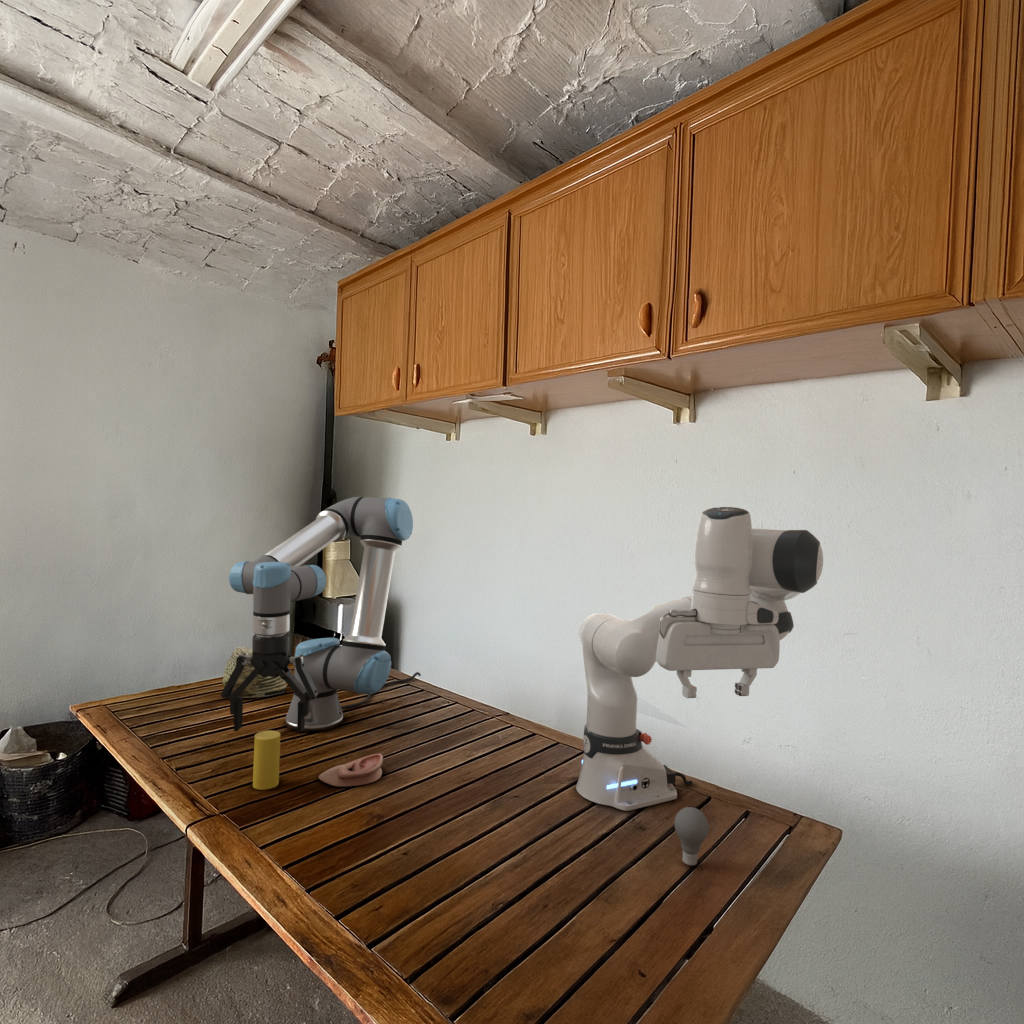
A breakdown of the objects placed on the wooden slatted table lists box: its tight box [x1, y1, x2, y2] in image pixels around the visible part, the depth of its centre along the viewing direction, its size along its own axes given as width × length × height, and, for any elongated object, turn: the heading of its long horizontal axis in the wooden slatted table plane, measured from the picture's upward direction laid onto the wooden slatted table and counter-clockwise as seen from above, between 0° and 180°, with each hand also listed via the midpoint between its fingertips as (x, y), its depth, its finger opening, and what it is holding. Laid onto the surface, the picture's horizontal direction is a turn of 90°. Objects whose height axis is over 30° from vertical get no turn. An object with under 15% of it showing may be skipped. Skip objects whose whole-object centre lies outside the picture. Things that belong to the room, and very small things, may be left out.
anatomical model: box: [318, 753, 384, 787], centre depth 144 cm, size 13×4×12 cm
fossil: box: [222, 646, 288, 699], centre depth 198 cm, size 9×18×15 cm, turn 132°
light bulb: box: [673, 806, 710, 866], centre depth 114 cm, size 6×6×10 cm
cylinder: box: [252, 730, 282, 791], centre depth 138 cm, size 5×5×11 cm
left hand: (269, 729), depth 139 cm, fingers open, 13 cm apart
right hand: (715, 696), depth 101 cm, fingers open, 8 cm apart
